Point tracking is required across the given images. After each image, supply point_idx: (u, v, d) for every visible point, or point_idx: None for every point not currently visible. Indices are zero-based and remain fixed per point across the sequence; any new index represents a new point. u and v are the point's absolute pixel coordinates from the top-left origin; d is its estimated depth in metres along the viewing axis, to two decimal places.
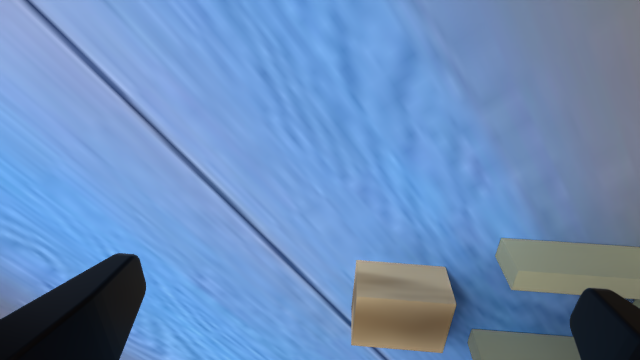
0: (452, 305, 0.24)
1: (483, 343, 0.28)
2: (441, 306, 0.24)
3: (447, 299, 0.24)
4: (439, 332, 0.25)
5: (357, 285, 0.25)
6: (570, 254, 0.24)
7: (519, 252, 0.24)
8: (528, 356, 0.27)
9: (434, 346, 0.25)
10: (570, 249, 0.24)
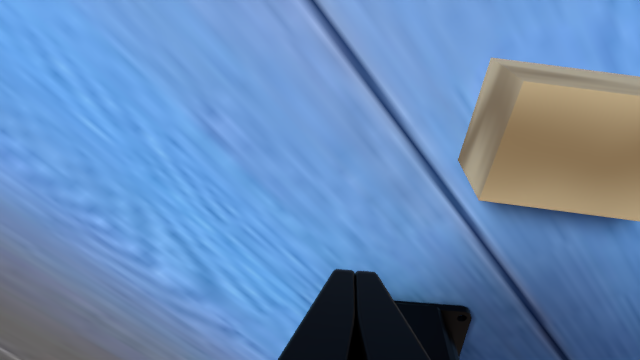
0: None
1: None
2: None
3: None
4: None
5: (513, 74, 0.13)
6: None
7: None
8: None
9: (630, 206, 0.14)
10: None
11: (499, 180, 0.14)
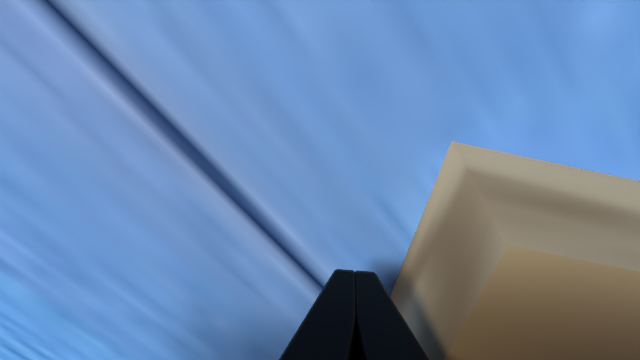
0: None
1: None
2: None
3: None
4: None
5: (487, 207, 0.06)
6: None
7: None
8: None
9: None
10: None
11: None
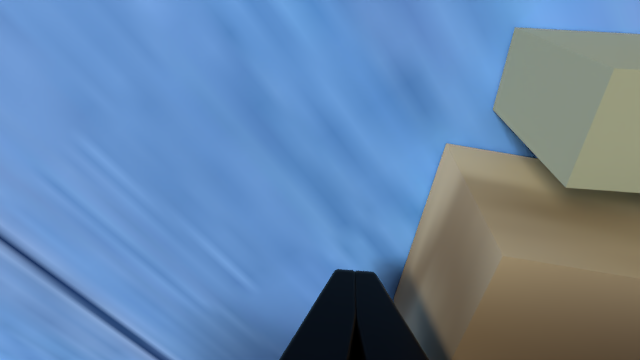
0: None
1: None
2: None
3: None
4: None
5: (482, 215, 0.06)
6: None
7: (595, 43, 0.06)
8: None
9: None
10: None
11: None
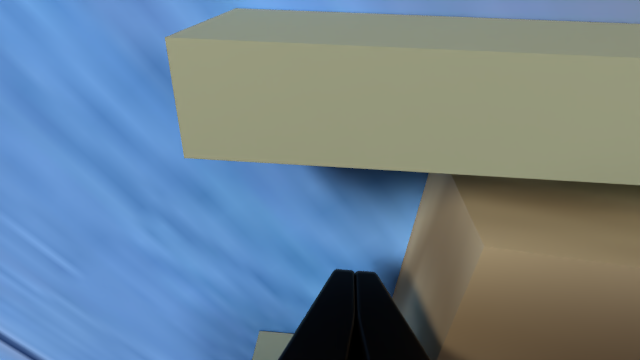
0: None
1: None
2: None
3: None
4: None
5: (467, 209, 0.06)
6: (465, 26, 0.06)
7: (255, 19, 0.06)
8: None
9: None
10: (471, 22, 0.06)
11: None
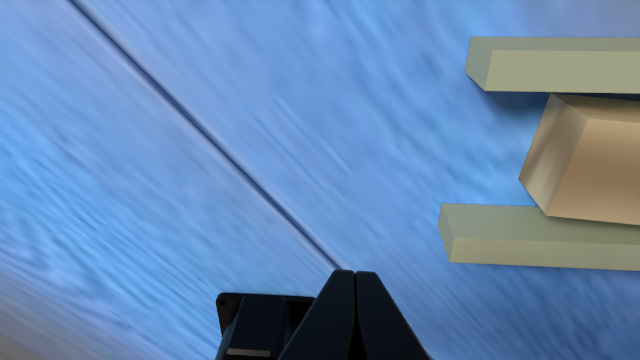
0: None
1: (456, 216, 0.20)
2: None
3: None
4: None
5: (576, 111, 0.16)
6: (574, 42, 0.15)
7: (496, 42, 0.16)
8: (520, 228, 0.19)
9: None
10: (574, 40, 0.16)
11: (565, 198, 0.17)
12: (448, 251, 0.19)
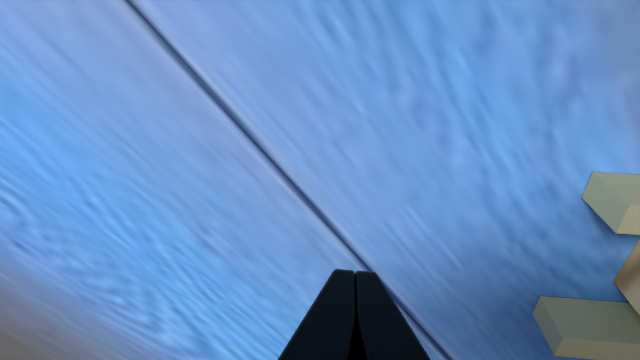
0: None
1: (557, 312, 0.22)
2: None
3: None
4: None
5: None
6: None
7: (622, 186, 0.18)
8: (617, 327, 0.22)
9: None
10: None
11: None
12: (552, 345, 0.22)
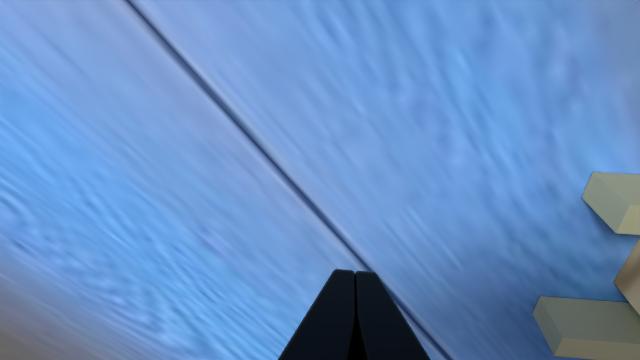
0: None
1: (557, 312, 0.22)
2: None
3: None
4: None
5: None
6: None
7: (622, 186, 0.18)
8: (617, 327, 0.22)
9: None
10: None
11: None
12: (552, 345, 0.22)
